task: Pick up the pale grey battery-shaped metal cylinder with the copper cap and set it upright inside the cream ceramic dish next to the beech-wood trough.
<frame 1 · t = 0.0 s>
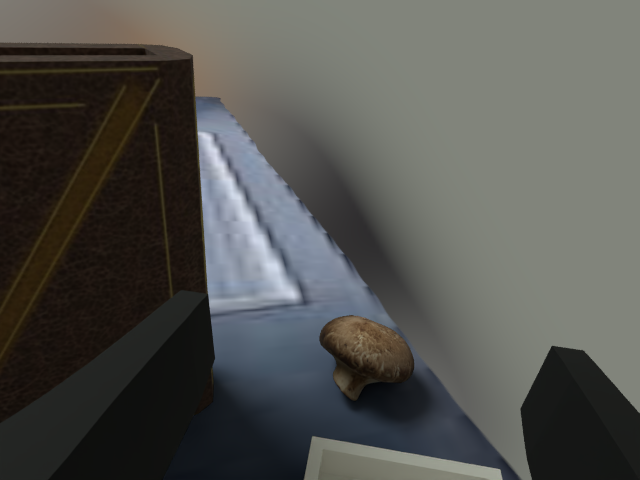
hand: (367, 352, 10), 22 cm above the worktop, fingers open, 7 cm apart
mushroom: (361, 378, 38), on the worktop
book: (57, 433, 32), on the worktop
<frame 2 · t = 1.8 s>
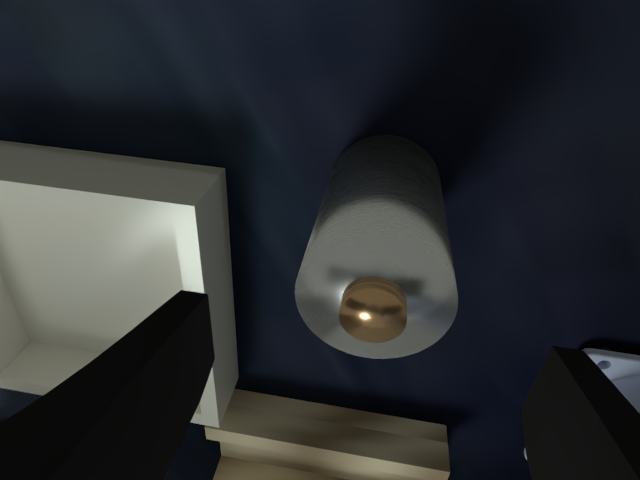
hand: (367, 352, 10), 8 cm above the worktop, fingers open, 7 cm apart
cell: (383, 187, 16), on the worktop
trough: (327, 438, 25), on the worktop
dish: (108, 271, 21), on the worktop
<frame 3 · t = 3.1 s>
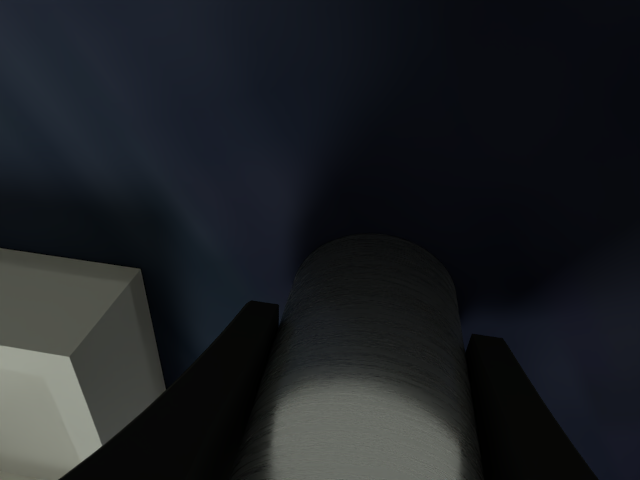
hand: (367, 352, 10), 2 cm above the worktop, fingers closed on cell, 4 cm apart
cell: (372, 302, 11), on the worktop, touching gripper
dish: (5, 381, 15), on the worktop
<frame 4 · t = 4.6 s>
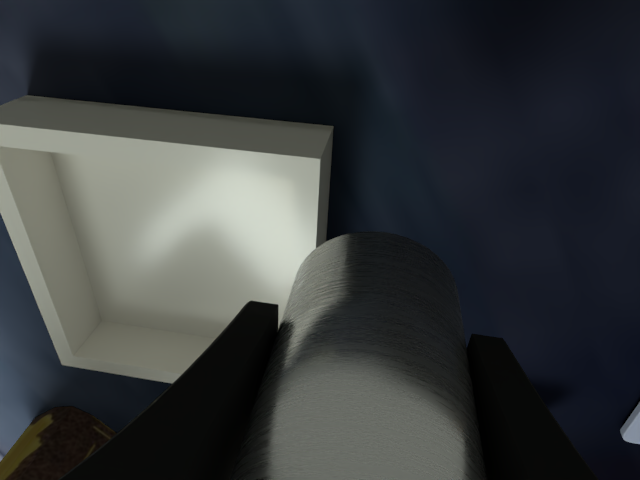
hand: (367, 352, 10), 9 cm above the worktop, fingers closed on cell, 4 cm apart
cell: (373, 300, 11), point 7 cm above the worktop, touching gripper
dish: (192, 243, 20), on the worktop
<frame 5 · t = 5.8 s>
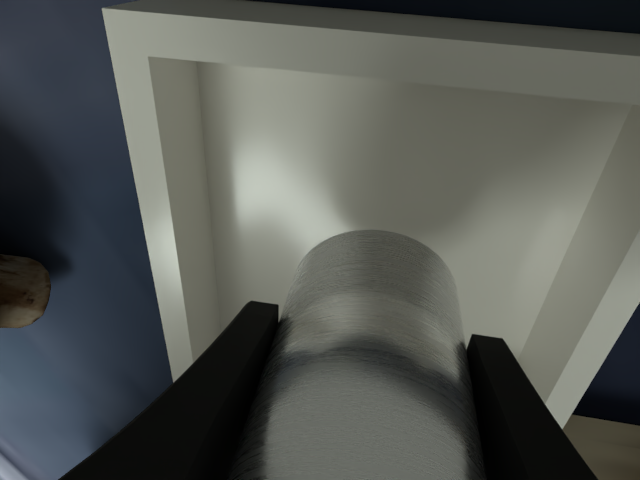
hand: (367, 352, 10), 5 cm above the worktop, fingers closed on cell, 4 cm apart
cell: (372, 299, 11), point 3 cm above the worktop, touching gripper
trough: (615, 471, 18), on the worktop
dish: (379, 230, 14), on the worktop
when the fingers open (4 cm above the worktop, at t = 6.4 s): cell drops 2 cm, resting on dish.
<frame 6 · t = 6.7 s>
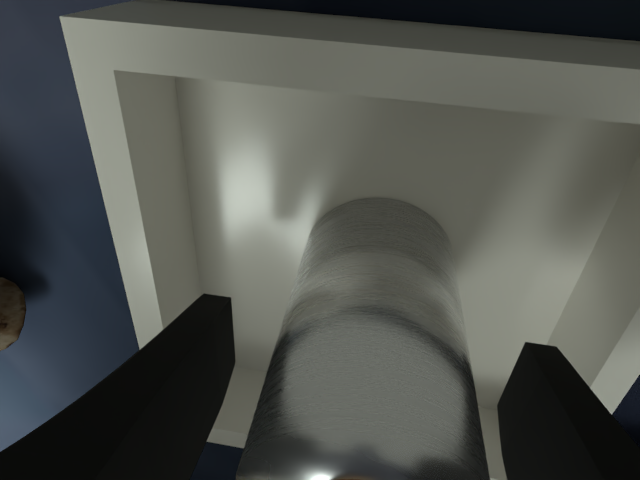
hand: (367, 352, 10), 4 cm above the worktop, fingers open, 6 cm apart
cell: (377, 261, 12), point 1 cm above the worktop, touching dish
dish: (376, 252, 13), on the worktop
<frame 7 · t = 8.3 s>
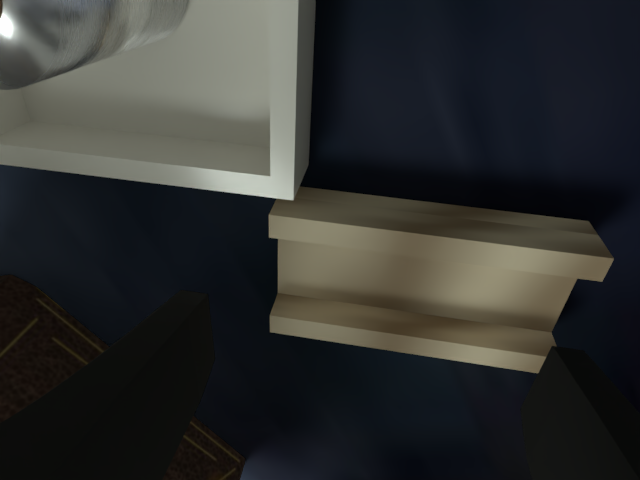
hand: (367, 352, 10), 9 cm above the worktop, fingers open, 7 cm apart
book: (130, 400, 29), on the worktop
trough: (417, 262, 19), on the worktop
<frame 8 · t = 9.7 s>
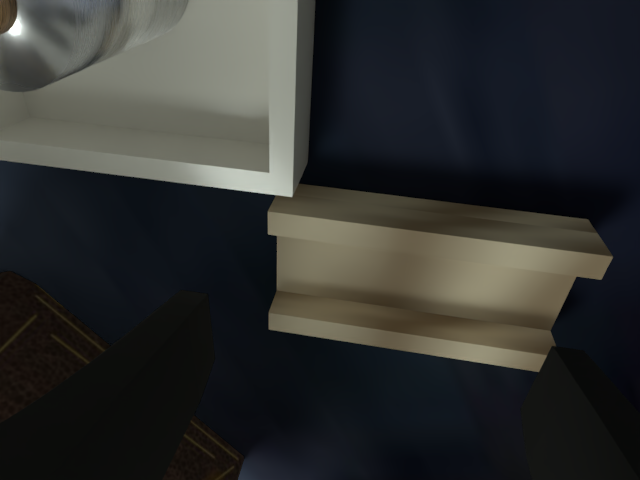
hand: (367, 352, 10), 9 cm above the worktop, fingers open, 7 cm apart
book: (129, 397, 29), on the worktop
trough: (417, 260, 19), on the worktop
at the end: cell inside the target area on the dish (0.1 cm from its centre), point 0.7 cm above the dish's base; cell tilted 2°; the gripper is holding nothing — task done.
